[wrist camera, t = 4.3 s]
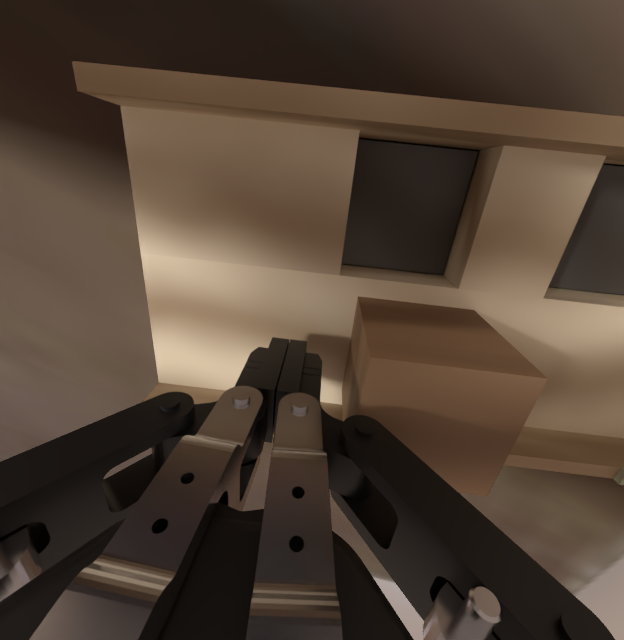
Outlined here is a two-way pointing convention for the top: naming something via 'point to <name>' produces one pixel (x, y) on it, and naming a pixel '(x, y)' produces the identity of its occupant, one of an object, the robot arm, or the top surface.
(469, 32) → the top surface
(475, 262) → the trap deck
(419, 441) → the walnut block
